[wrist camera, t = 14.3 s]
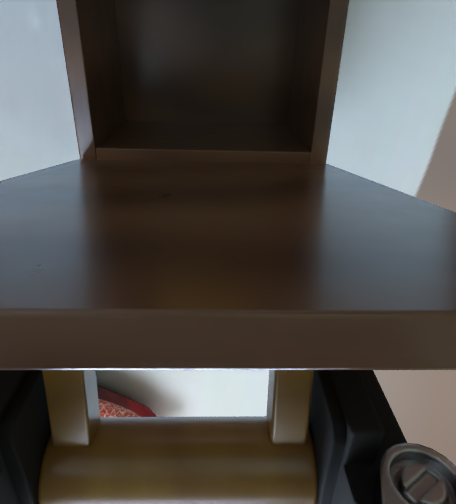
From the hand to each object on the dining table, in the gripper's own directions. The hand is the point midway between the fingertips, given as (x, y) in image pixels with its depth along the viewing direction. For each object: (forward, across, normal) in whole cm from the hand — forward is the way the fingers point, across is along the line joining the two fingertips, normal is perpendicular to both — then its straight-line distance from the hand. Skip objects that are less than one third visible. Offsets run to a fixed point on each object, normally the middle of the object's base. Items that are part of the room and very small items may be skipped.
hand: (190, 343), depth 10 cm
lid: (+5, 0, -3) cm, 5 cm away
